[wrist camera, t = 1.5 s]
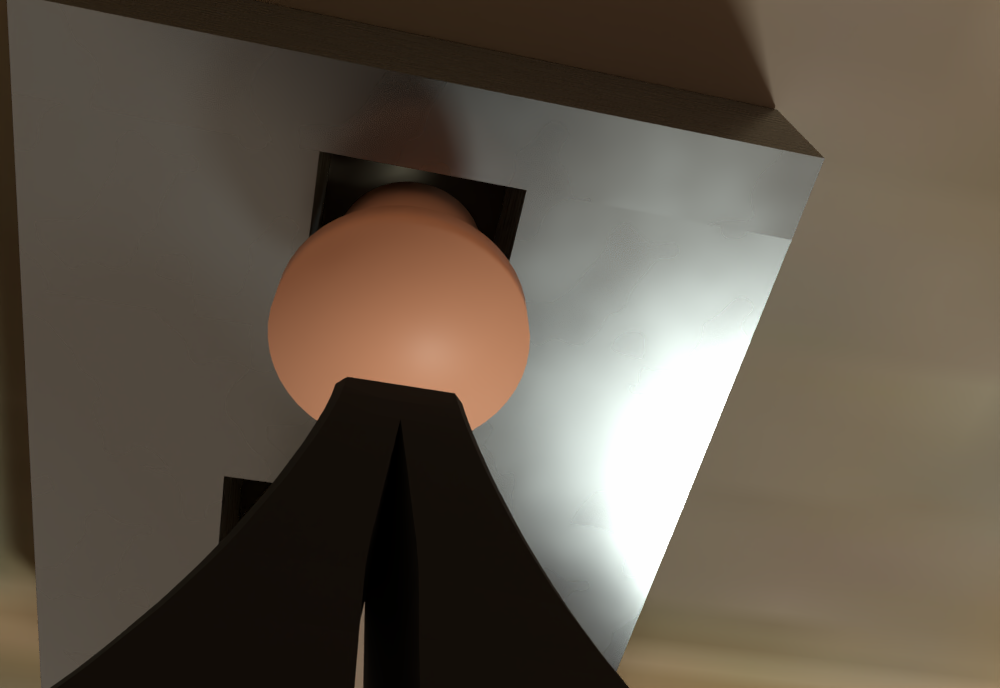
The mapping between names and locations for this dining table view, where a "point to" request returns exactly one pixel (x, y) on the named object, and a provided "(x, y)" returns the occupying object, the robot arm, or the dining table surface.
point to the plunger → (401, 304)
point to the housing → (299, 213)
